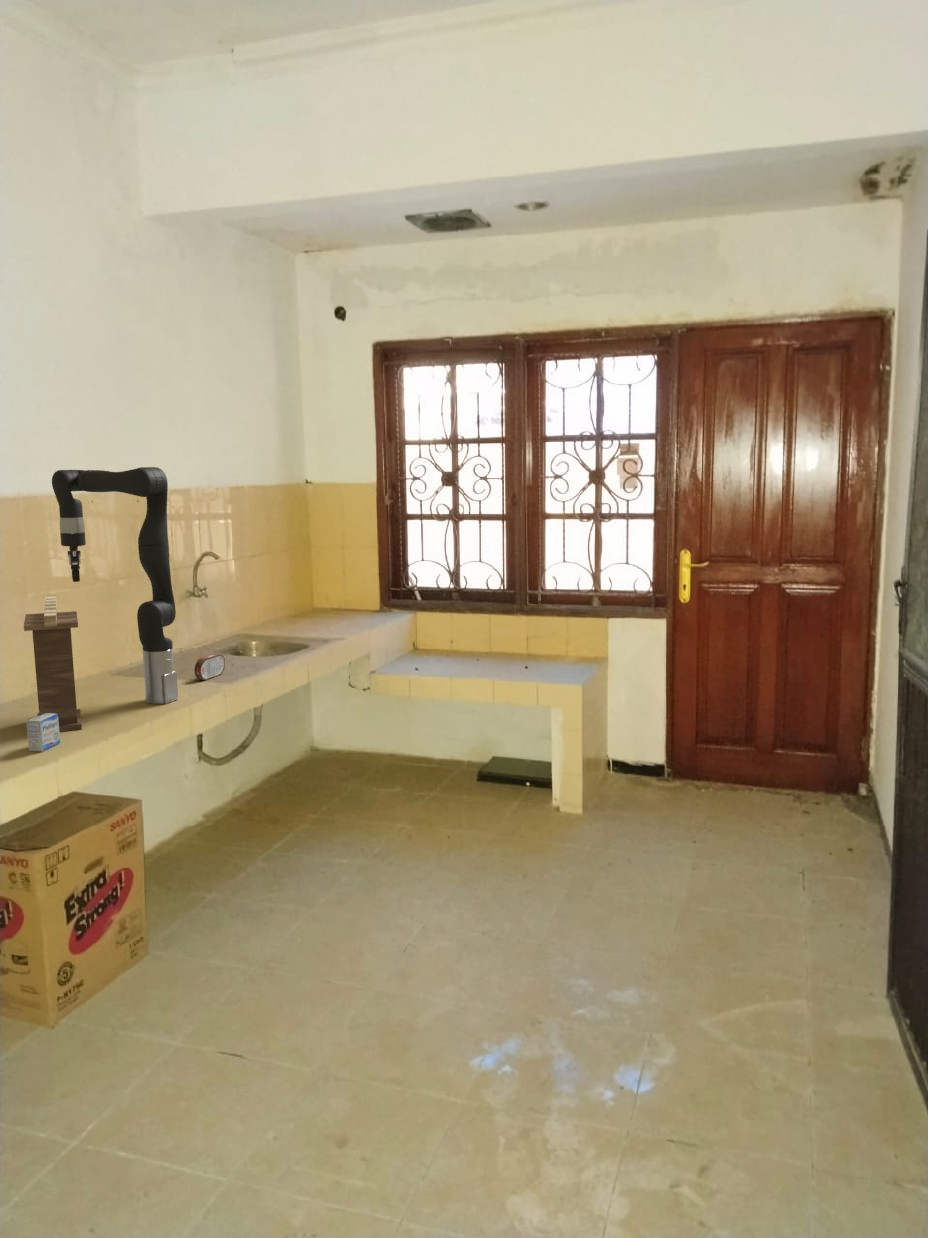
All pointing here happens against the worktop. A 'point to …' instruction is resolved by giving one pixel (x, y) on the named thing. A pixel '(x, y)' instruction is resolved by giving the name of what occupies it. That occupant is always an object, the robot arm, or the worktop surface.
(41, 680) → the stand
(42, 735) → the medicine box
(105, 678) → the worktop surface
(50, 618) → the bar
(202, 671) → the tin
